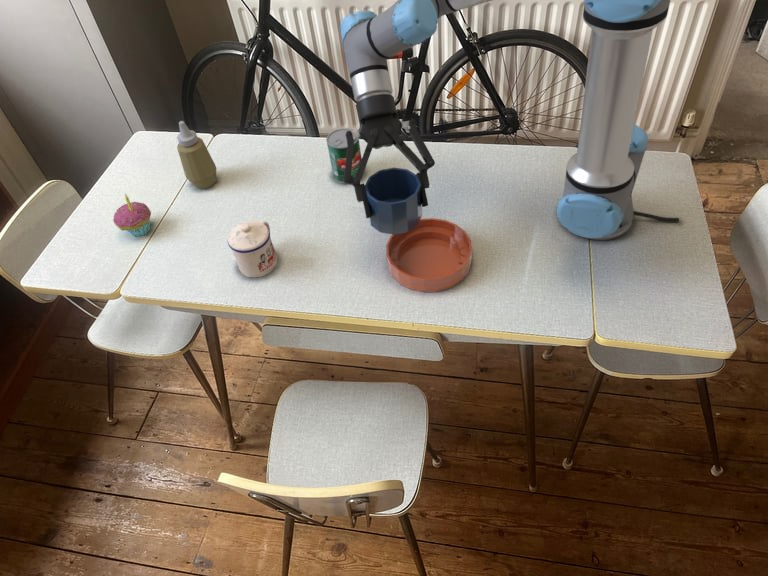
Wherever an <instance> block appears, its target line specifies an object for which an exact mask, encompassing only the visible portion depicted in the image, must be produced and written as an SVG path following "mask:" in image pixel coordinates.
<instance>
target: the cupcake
mask: <svg viewBox="0 0 768 576" xmlns="http://www.w3.org/2000/svg"><path fill="white" fill-rule="evenodd" d="M124 199H125V201H126V203H125V204H122V205H121V206H119V207H118V208H117V209H116V211H115V212H114V216H113V219H112V220H113V224H114V225H115V226H116V227H117V228H118V229H119V230H121V231H126V232H128V234H130V235H131V236H132V237H142V236H145V235H146V234H147V233H148V232H149V231H150V229H151V224H150V223H151V221H150V220H151V216H152V212H151V210H150V208H149V207H148V205H147V204H145V203H144V202H139V201H131V200H130V199H129V196H128V195H127V193H125V194H124Z"/></svg>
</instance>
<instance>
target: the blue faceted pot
mask: <svg viewBox="0 0 768 576" xmlns="http://www.w3.org/2000/svg"><path fill="white" fill-rule="evenodd" d="M416 174H417V173H414V172H413V171H411V170H409V169H407V168H401V167H389V168H383V169H379V170H378V171H376V172H374V173H373V174H372V175H370V176H368V178H367V180H366V182H365V183H364V184H365V189H366V194H367V199H368V204H369V209H370V213H371V217H370V218H368V221H369V223H370V226H371V227H372V228H374V230H375V231H377V232H379V233H381V234H387V235H395V234H400V233H405V232H409V231H410V230H411V229H413V228H414V227H416V226H417V225H418V224H419V222H420V219H422V217H423V207H422V200H421V183H420V181H419V179H418V176H417V175H416Z"/></svg>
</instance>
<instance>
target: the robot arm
mask: <svg viewBox="0 0 768 576" xmlns="http://www.w3.org/2000/svg"><path fill="white" fill-rule="evenodd" d="M491 1H493V0H396V2H394V3H393V4H392V5H391V6H390V7H389V8H387V9H386V10H384V11H382V12H381V13H379V14H377V13H376V12H374V11H372V10H359V11H358V10H357V11H356V12H354V13H349V14H347V15H346V16H345V17H343V19H342V20H341V22H340V27H339V28H340V34H341V45H342V48H343V52H344V56H345V59H346V64H347V70H348V74H349V79H350V84H351V89H352V94H353V99H354V101H355V102H356V104H355V109H356V114H357V119H358V122H359V129H357V130H354V131H352V132H351V131H347V132H346V141H347V145H348V146H347V155H346V164H345V173H344V183H343V184H345V185H351V186H352V187H353V188H354V193H355V197H356V201H357V202H358V203H361V202H362V203H363V208H364V213H365V218H366V219H369V218H370V217H371V213H370V209H369V204H368V199H367V194H366V189H365V184H366V183H361V180H362V178H363V176H364V173H365V169H366V167H367V165H368V162H369V159H370V156H371V153H372V151H373V149H375V150H379V149H381V148H388V147H392V146H394V147H395V148H396V149H397V150H398V151H399V152H400V153H401V154H402V155H403V156H404V157H405V158H406V159H407V160H408V161H409V162H410V163H411V165H412V166H413V167H414V168H415V169H416V170H417V171H418V172H417V173H415V174H416V175H417V176H418V179H419V181H420V183H421V200H422V208H424V207H428V206H429V202H428V197H427V193H426V192H427V191H426V190H427V189H429V188H430V180H429V175H428V170H430V169H431V168H433V167H434V166H435V165H436V161H435V160H434V158H433V156H432V154H431V152H430V151H429V149H428V147H427V145H426V143H425V141H424V140H423V138H422V135H421V134H420V133H419V130H418V126H417V121H416V119H415V118H410V119H409V120H405V121H401V120H400V118H399V115H398V111H397V106H396V102H395V101H396V100H395V97H394V96H393V95H392V93H393V91H394V90H393V86H392V82H391V81H392V80H391V77H390V72H389V65H388V59H391V58H393V57H394V56H396V55H398V54H400V53H402V52H405V51H406V50H409V49H410V48H411V49H412V48H413V47H415V46H417V45H420V44H422V43H424V41H426V40H428V39H429V38H431V37H432V36H434V34H435V33H436V31H437V29H438V23H439V19H440V18H441V17H443V16H446V15H449V14H452V13H456V12H458V11H461V10H464V9H468V8H471V7H474V6H479V5H482V4H485V3H488V2H491ZM670 3H671V0H583V11H582V12H583V13H582V19H583V22H584V23H585V24H586V25H587V26H588V27H589V28H590V29H591V34H590V41H589V50H588V59H587V67H586V75H585V83H584V91H583V100H582V109H581V116H580V123H579V124H580V125H579V133H578V141H577V150H576V152H575V153H574V154H573V155H572V156H571V157H570V158H569V159H568V161H567V164H566V171H565V180H564V188H563V193H562V196H561V198H559V201H558V202H557V208H556V216H557V219H558V221H559V223H560V224H561V225H562V227H564V228H566V229H567V231H568V232H570V233H572V234H574V235H576V236H578V237H582V238H584V239H588V240H592V241H610V240H615V239H617V238H620V237H622V236H624V235H625V234H626V233H628V231H629V230H630V228H631V227H632V223H633V220H634V216H637V217H644V218H648V219H652V220H656V221H662V222H670V223H671V222H674V223H675V222H676V223H679V222H680V217H665V216H660V215H659V216H658V215H655V214H651V213H646V212H641V211H637V210H634V205H633V197H632V194H633V191H634V189H635V185H636V182H637V179H638V176H639V173H640V169H641V166H642V163H643V159H644V156H645V152H646V151H647V150H648V141H649V136H648V134H647V132H646V131H645V130H644V129H643V128H642V127H639V125H636V124H635V122H636V118H637V111H638V105H639V101H640V96H641V90H642V86H643V81H644V76H645V70H646V66H647V61H648V56H649V52H650V51H649V50H650V46H651V40H652V35H653V30H654V29H656V28H657V27H659V26H660V25H661V24H662V23H664V22H665V21H666V19H667V17H668V13H669V9H670ZM402 129H404V131H405V132H406V133H409V136H410V139H411V140H412V142H413V143H414V145H415V147H416V149H417V151H418V153H419V155H420V156H421V158H422V160H423V161H422V160H421V159H420V157H418V156H417V154H416V153H415V152H413V150H412V149H411V148H410V147H409V145H407V144H406V143H405V141H404V140H403V139H402V137H401V136H400V132H401V130H402ZM358 136H359V138H361V139H362V140H363V141H364V142H365V143H366V146H365V149H364V151H363V154H362V156H361V158H362V160H361V162H360V165H359V168H358V171H357V173H356V176H355V178H351V168H352V159H353V150H354V143H356V142H357V138H358ZM362 175H363V176H362Z"/></svg>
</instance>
